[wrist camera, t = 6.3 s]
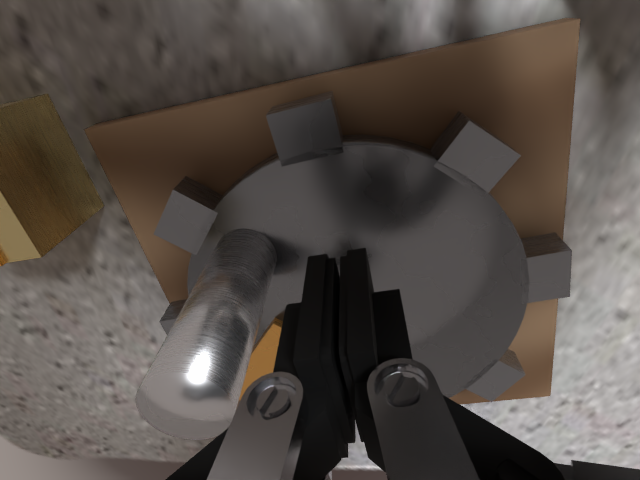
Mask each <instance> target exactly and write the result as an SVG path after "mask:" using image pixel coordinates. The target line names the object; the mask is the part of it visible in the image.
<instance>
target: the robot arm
mask: <svg viewBox="0 0 640 480" xmlns="http://www.w3.org/2000/svg"><path fill="white" fill-rule="evenodd" d="M355 420H356V424H357V428H358V432H359V435H360V439H361V442H364V443H365V447H366V451H367V454H368V458H369V459H370V460H372V461H373V462H374V463H375V464H376V465H377V466H379V467H380V468H381V469H382V470H383V471H384V472H386V475H387V479H388V480H640V470H639V469H632V468H624V467H617V466H610V465H603V464H596V463H589V462H581V461H574V460H571V465H564V464H557V463H553V462H552V461H551V460H549V459H548V458H547V457H545V456H544V455H543V454H541V453H540V452H538V451H537V450H535V449H533V448H532V447H530V446H528V445H527V444H525V443H523V442H522V441H520V440H518V439H517V438H515V437H513V436H512V435H510V434H508V433H506V432H505V431H503V430H501V429H500V428H498V427H496V426H495V425H493V424H491V423H490V422H488V421H486V420H485V419H483V418H481V417H480V416H478V415H476V414H475V413H473V412H471V411H470V410H468V409H466V408H464V407H463V406H461V405H459V404H458V403H456V402H454V401H453V400H451V399H449V398H448V397H446V396H444V395H443V394H442V393H441V391H440V388H439V386H438V384H437V381H436V379H435V377H434V375H433V374H432V372H431V371H430V369H429V368H427V367H426V366H425V365H423V364H422V363H420V362H418V361H415V360H413V358H412V353H411V347H410V342H409V337H408V331H407V326H406V321H405V315H404V310H403V305H402V299H401V294H400V289H394V290H387V291H380V292H374V288H373V282H372V277H371V272H370V266H369V261H368V256H367V250H366V248H360V249H353V250H347V256H341V257H340V275H339V271H338V267H337V262H336V259H335V257H334V258H329V257H328V254H321V255H314V256H309V257H308V259H307V266H306V273H305V280H304V287H303V294H302V301H301V302H299V303H292V304H287V305H286V308H285V313H284V318H283V323H282V328H281V334H280V339H279V344H278V349H277V354H276V359H275V365H274V370H273V373H269V374H266V375H264V376H261V377H260V378H258V379H257V380H255V381H254V382H253V383H252V384H251V385H250V386H249V387H248V388H247V389H246V391H245V392H244V394H243V396H242V398H241V400H240V402H239V405H238V407H237V409H236V412H235V414H234V416H233V419H232V421H231V424H230V426H229V428H227V429H226V430H225V431H224V432H223V433H221V434H220V435H219V436H218V437H216V438H215V439H214V440H213V441H212V442H210V443H209V444H208V445H207V446H206V447H204V448H203V449H202V450H201V451H200V452H198V453H197V454H196V455H195V456H194V457H192V458H191V459H190V460H189V461H188V462H186V463H185V464H184V465H183V466H182V467H180V468H179V469H178V470H177V471H176V472H174V473H173V474H172V475H171V476H169V477H168V478H167V479H166V480H332V472H331V470H332V469H333V468H334V467H335V466H336V465H337V464H338V463H339V462H340V461H341V458H346V457H348V443H355Z"/></svg>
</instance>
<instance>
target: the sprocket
mask: <svg viewBox="0 0 640 480" xmlns="http://www.w3.org/2000/svg"><path fill="white" fill-rule="evenodd" d="M266 118H267V121H268V124H269V127H270V131H271V134H272V137H273V140H274V143H275V147H276V150H277V153H276V154H273V155H271V156H269V157H267V158H266V159H264V160H263V161H261V162H260V163H258V164H257V165H255V166H253V167H252V168H250V169H249V170H248V171H247V172H246V173H244V174H243V175H242V176H241V177H240V178H239V179H238V180H236V181H235V182H234V183H233V184H232V185H231V187H230V188H229V189H228V190H227V191H226V192H225V194H224V195H221V194H219V193H217V192H215V191H214V190H212V189H210V188H208V187H206V186H204V185H202V184H201V183H199V182H197V181H195V180H193V179H191V178H189V177H188V176H185V177H184V178H183V179H182V180H181V181H180V183H179V184H178V185H177V186H176V187H175V188H174V189H173V191H172V193H171V195H170V197H169V200H168V202H167V204H166V207H165V209H164V211H163V213H162V216H161V218H160V220H159V222H158V225H157V227H156V229H155V232H154V235H156V236H158V237H160V238H162V239H164V240H166V241H168V242H170V243H172V244H174V245H176V246H178V247H180V248H182V249H184V250H186V251H188V252H190V253H191V257H190V262H189V266H188V280H187V288H188V299H184V300H179V301H173V302H171V303H170V305H169V307H168V308H167V310H166V312H165V313H164V315H163V317H162V318H161V320H160V323H161V325H162V327H163V329H164V330H165V332H166V334H167V337H166V339H165V341H164V343H163V345H162V347H161V349H160V350H159V352H158V354H157V356H156V358H155V360H154V361H153V363H152V365H151V367H150V369H149V371H148V373H147V374H146V376H145V378H144V380H143V382H142V384H141V385H140V387H139V389H138V391H137V394H136V405H137V408H138V410H139V412H140V414H141V415H142V416H143V418H144V419H145V420H146V421H147V422H148V423H149V424H151V425H152V426H153V427H155V428H156V429H158V430H160V431H162V432H164V433H166V434H168V435H171V436H174V437H178V438H182V439H189V440H204V439H210V438H213V437H216V436H219V435H220V434H221V433H223V432H224V431H225V430H226V429H227V428H229V426H230V424H231V421H232V419H233V416H234V414H235V412H236V408H237V405H238V401H239V400H241V398H242V396H243V394H244V392H245V391H246V389H247V388H248V387H249V386H250V385H251V384H252V383H253V382H254V381H255V380H257V379H258V378H260V377H261V376H264V375H266V374H269V373H273V370H274V365H275V359H276V354H277V349H278V344H279V339H280V334H281V328H282V323H283V318H284V313H285V308H286V305H287V304H292V303H299V302H301V301H302V294H303V287H304V280H305V273H306V266H307V259H308V257H309V256H314V255H321V254H328V257H329V258H334V257H335V259H336V262H337V267H338V271H339V275H340V257H341V256H347V250H353V249H360V248H366V250H367V256H368V261H369V266H370V272H371V277H372V282H373V288H374V292H380V291H387V290H394V289H400V294H401V299H402V305H403V310H404V315H405V321H406V326H407V331H408V337H409V342H410V347H411V353H412V358H413V360H415V361H418V362H420V363H422V364H423V365H425V366H426V367H427V368H429V369H430V371H431V372H432V374H433V375H434V377H435V379H436V381H437V384H438V386H439V388H440V391H441V393H442V394H443V395H444V396H446V397H448V398H450V397H452V396H454V395H456V394H458V393H459V392H461V391H463V390H464V389H467V390H469V391H471V392H473V393H475V394H477V395H479V396H481V397H483V398H485V399H487V400H489V401H491V402H492V401H494V400H495V399H496V398H497V397H499V396H500V395H501V394H502V393H504V392H505V391H506V390H507V389H509V388H510V387H511V386H512V385H514V384H515V383H516V382H517V381H519V380H520V379H521V378H522V377H524V376H525V375H526V374H525V372H524V370H523V368H522V366H521V364H520V362H519V360H518V358H517V356H516V354H515V352H514V351H512V350H510V349H508V348H509V346H510V344H511V343H512V341H513V339H514V338H515V336H516V335H517V332H518V330H519V328H520V325H521V323H522V320H523V318H524V315H525V310H526V306H527V303H532V302H539V301H545V300H551V299H558V298H564V297H570V278H571V256H572V250H571V249H570V248H569V247H568V246H567V245H566V243H565V242H564V241H563V240H562V239H561V238H560V237H559V236H558V235H557V234H556V233H555V232H554V233H548V234H543V235H537V236H532V237H526V238H521V239H520V237H519V235H518V233H517V231H516V229H515V227H514V225H513V223H512V222H511V220H510V219H509V217H508V216H507V215H506V213H505V212H504V210H503V209H502V208H501V206H500V205H499V204H498V202H497V201H496V200H495V198H494V197H493V196H492V194H491V193H490V190H491V189H492V188H493V187H494V186H495V185H496V184H497V182H498V181H499V180H500V179H501V178H502V177H503V176H504V174H505V173H506V172H507V171H508V170H509V169H510V168H511V167H512V165H513V164H514V163H515V162H516V161H517V160H518V159H519V157H520V156H521V155H520V154H519V153H518V152H516V151H515V150H514V149H513V148H512V147H511V146H509V145H508V144H507V143H506V142H504V141H503V140H501V139H500V138H498V137H497V136H495V135H494V134H492V133H491V132H489V131H488V130H486V129H485V128H483V127H482V126H481V125H479V124H478V123H476V122H475V121H473V120H472V119H470V118H469V117H467V116H466V115H464V114H463V113H461V112H460V111H458V113H457V114H456V115H455V117H454V118H453V119H452V121H451V122H450V123H449V125H448V126H447V127H446V129H445V130H444V131H443V133H442V134H441V135H440V136H439V138H438V139H437V140H436V142H435V143H434V144H433V146H432V147H431V148H430V149H429V148H426V147H424V146H421V145H418V144H415V143H413V142H409V141H404V140H400V139H396V138H391V137H385V136H374V135H363V134H362V135H343V134H342V130H341V126H340V121H339V117H338V113H337V108H336V104H335V100H334V95H333V91H330V92H326V93H322V94H318V95H314V96H310V97H306V98H303V99H299V100H295V101H291V102H287V103H283V104H279V105H276V106H272V108H271V109H270V110H269V112H268V113H267V114H266Z"/></svg>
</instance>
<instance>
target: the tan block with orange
mask: <svg viewBox="0 0 640 480" xmlns="http://www.w3.org/2000/svg"><path fill="white" fill-rule="evenodd" d="M102 207H104V205H103V203H102V201H101V199H100V197H99V195H98V193H97V191H96V189H95V187H94V185H93V183H92V181H91V179H90V177H89V175H88V173H87V171H86V169H85V167H84V165H83V163H82V161H81V159H80V157H79V155H78V153H77V151H76V149H75V147H74V145H73V143H72V141H71V139H70V137H69V135H68V133H67V131H66V129H65V127H64V125H63V123H62V121H61V119H60V117H59V115H58V113H57V111H56V109H55V107H54V105H53V103H52V101H51V99H50V97H49V95H48V94H45V95H40V96H36V97H32V98H27V99H23V100H18V101H14V102H10V103H5V104H1V105H0V266H3V265H4V264H5V263H10V262H16V261H22V260H28V259H35V258H41V257H43V256H44V255H45V254H46V253H47V252H49V251H50V250H51V249H52V248H54V247H55V246H56V245H57V244H58V243H60V242H61V241H62V240H63V239H65V238H66V237H67V236H68V235H69V234H71V233H72V232H73V231H74V230H76V229H77V228H78V227H79V226H80V225H82V224H83V223H84V222H85V221H86V220H88V219H89V218H90V217H91V216H93V215H94V214H95V213H96V212H97V211H99V210H100V209H101V208H102Z"/></svg>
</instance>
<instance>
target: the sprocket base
mask: <svg viewBox="0 0 640 480" xmlns="http://www.w3.org/2000/svg"><path fill="white" fill-rule="evenodd" d="M579 30H580V19H575V18H564V19H559V20H555V21H550V22H546V23H541V24H537V25H533V26H528V27H524V28H519V29H515V30H510V31H506V32H501V33H497V34H492V35H488V36H484V37H479V38H475V39H470V40H466V41H461V42H457V43H452V44H448V45H444V46H439V47H435V48H430V49H426V50H421V51H417V52H412V53H408V54H404V55H399V56H395V57H390V58H386V59H381V60H377V61H372V62H368V63H363V64H359V65H355V66H350V67H346V68H341V69H337V70H332V71H328V72H323V73H319V74H315V75H310V76H306V77H301V78H297V79H292V80H288V81H283V82H279V83H275V84H270V85H266V86H261V87H257V88H252V89H248V90H243V91H239V92H235V93H230V94H226V95H221V96H217V97H212V98H208V99H203V100H199V101H194V102H190V103H186V104H181V105H177V106H172V107H168V108H163V109H159V110H154V111H150V112H146V113H141V114H137V115H132V116H128V117H123V118H119V119H114V120H110V121H106V122H101V123H97V124H95V125H93V126H91V127H89V128H86V129H84V131H85V133H86V135H87V137H88V139H89V141H90V143H91V145H92V147H93V149H94V151H95V153H96V155H97V157H98V159H99V161H100V164H101V166H102V168H103V170H104V172H105V174H106V176H107V178H108V180H109V182H110V184H111V186H112V188H113V190H114V192H115V194H116V196H117V198H118V200H119V202H120V204H121V206H122V208H123V210H124V212H125V214H126V216H127V218H128V220H129V222H130V224H131V226H132V228H133V230H134V232H135V234H136V236H137V238H138V240H139V243H140V245H141V247H142V249H143V251H144V253H145V255H146V257H147V259H148V261H149V263H150V265H151V267H152V269H153V271H154V273H155V275H156V277H157V279H158V281H159V283H160V285H161V287H162V289H163V291H164V293H165V295H166V297H167V299H168V301H169V303H171V302H173V301H179V300H184V299H188V288H187V280H188V266H189V262H190V257H191V253H190V252H188V251H186V250H184V249H182V248H180V247H178V246H176V245H174V244H172V243H170V242H168V241H166V240H164V239H162V238H160V237H158V236H156V235H154V232H155V229H156V227H157V225H158V222H159V220H160V218H161V216H162V213H163V211H164V209H165V207H166V204H167V202H168V200H169V197H170V195H171V193H172V191H173V189H174V188H175V187H176V186H177V185H178V184H179V183H180V181H181V180H182V179H183V178H184V177H185V176H188V177H189V178H191V179H193V180H195V181H197V182H199V183H201V184H202V185H204V186H206V187H208V188H210V189H212V190H214V191H215V192H217V193H219V194H221V195H224V194H225V192H226V191H227V190H228V189H229V188H230V187H231V185H232V184H233V183H234V182H235V181H236V180H238V179H239V178H240V177H241V176H242V175H243V174H244V173H246V172H247V171H248V170H249V169H250V168H252V167H253V166H255V165H257V164H258V163H260V162H261V161H263V160H264V159H266V158H267V157H269V156H271V155H273V154H276V153H277V150H276V147H275V143H274V140H273V137H272V134H271V131H270V127H269V124H268V121H267V118H266V114H267V113H268V112H269V110H270V109H271V108H272V106H276V105H279V104H283V103H287V102H291V101H295V100H299V99H303V98H306V97H310V96H314V95H318V94H322V93H326V92H330V91H333V95H334V100H335V104H336V108H337V113H338V117H339V121H340V126H341V130H342V134H343V135H362V134H363V135H374V136H385V137H391V138H396V139H400V140H404V141H409V142H413V143H415V144H418V145H421V146H424V147H426V148H429V149H430V148H431V147H432V146H433V144H434V143H435V142H436V140H437V139H438V138H439V136H440V135H441V134H442V133H443V131H444V130H445V129H446V127H447V126H448V125H449V123H450V122H451V121H452V119H453V118H454V117H455V115H456V114H457V113H458V111H460V112H461V113H463V114H464V115H466V116H467V117H469V118H470V119H472V120H473V121H475V122H476V123H478V124H479V125H481V126H482V127H483V128H485V129H486V130H488V131H489V132H491V133H492V134H494V135H495V136H497V137H498V138H500V139H501V140H503V141H504V142H506V143H507V144H508V145H509V146H511V147H512V148H513V149H514V150H515V151H516V152H518V153H519V154H520V155H521V156H520V157H519V159H518V160H517V161H516V162H515V163H514V164H513V165H512V167H511V168H510V169H509V170H508V171H507V172H506V173H505V174H504V176H503V177H502V178H501V179H500V180H499V181H498V182H497V184H496V185H495V186H494V187H493V188H492V189H491V190H490V193H491V194H492V196H493V197H494V198H495V200H496V201H497V202H498V204H499V205H500V206H501V208H502V209H503V210H504V212H505V213H506V215H507V216H508V217H509V219H510V220H511V222H512V223H513V225H514V227H515V229H516V231H517V233H518V235H519V237H520V239H521V238H526V237H532V236H537V235H543V234H548V233H554V232H555V233H556V234H557V235H558V236H559V237H560V238H561V239H562V240H563V230H564V218H565V205H566V193H567V180H568V168H569V155H570V143H571V130H572V118H573V105H574V93H575V80H576V67H577V55H578V42H579ZM557 306H558V299H551V300H545V301H539V302H532V303H527V306H526V310H525V315H524V318H523V320H522V323H521V325H520V328H519V330H518V332H517V335H516V336H515V338H514V339H513V341H512V343H511V344H510V346H509V348H508V349H510V350H512V351H514V352H515V354H516V356H517V358H518V360H519V362H520V364H521V366H522V368H523V370H524V372H525V374H526V375H525V376H524V377H522V378H521V379H520V380H519V381H517V382H516V383H515V384H514V385H512V386H511V387H510V388H509V389H507V390H506V391H505V392H504V393H502V394H501V395H500V396H499V397H497V398H496V399H495V400H494V401H501V400H512V399H523V398H533V397H544V396H550V393H551V381H552V368H553V356H554V343H555V331H556V318H557ZM449 399H451V400H453V401H454V402H456V403H458V404H469V403H480V402H491V401H489V400H487V399H485V398H483V397H481V396H479V395H477V394H475V393H473V392H471V391H469V390H467V389H464V390H463V391H461V392H459V393H458V394H456V395H454V396H452V397H450V398H449ZM239 402H240V400H239V401H238V405H239ZM238 405H237V407H238ZM236 409H237V408H236Z"/></svg>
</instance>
